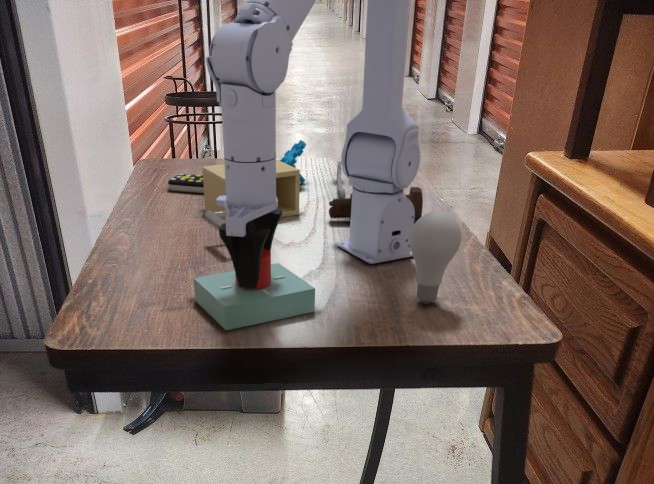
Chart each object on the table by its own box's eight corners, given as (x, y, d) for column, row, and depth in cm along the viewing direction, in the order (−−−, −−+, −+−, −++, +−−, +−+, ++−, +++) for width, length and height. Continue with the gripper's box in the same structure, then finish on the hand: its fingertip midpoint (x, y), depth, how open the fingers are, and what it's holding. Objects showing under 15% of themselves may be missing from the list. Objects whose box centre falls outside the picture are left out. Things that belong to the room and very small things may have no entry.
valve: (275, 277, 83) (274, 246, 80) (265, 290, 79) (265, 258, 77) (241, 274, 84) (240, 243, 81) (231, 287, 80) (229, 255, 78)
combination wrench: (346, 188, 115) (343, 159, 130) (338, 188, 115) (337, 159, 130) (344, 211, 117) (342, 179, 133) (337, 211, 117) (336, 179, 133)
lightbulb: (444, 293, 87) (458, 204, 80) (455, 312, 82) (471, 219, 75) (397, 293, 86) (408, 205, 80) (406, 312, 82) (418, 220, 75)
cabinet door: (223, 255, 97) (220, 207, 93) (194, 230, 107) (190, 185, 102) (262, 249, 99) (261, 201, 95) (230, 225, 109) (228, 181, 104)
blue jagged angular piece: (267, 167, 133) (302, 129, 128) (287, 189, 136) (323, 153, 131) (261, 189, 126) (298, 151, 120) (283, 212, 129) (320, 175, 123)
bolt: (328, 230, 113) (417, 227, 112) (330, 223, 108) (422, 220, 107) (328, 194, 112) (417, 191, 111) (329, 185, 107) (423, 181, 106)
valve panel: (314, 311, 82) (315, 287, 80) (226, 330, 78) (224, 305, 76) (278, 284, 89) (278, 261, 87) (195, 301, 85) (193, 276, 83)
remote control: (228, 196, 123) (228, 184, 122) (166, 191, 126) (164, 179, 125) (239, 188, 128) (239, 176, 127) (179, 183, 131) (178, 172, 129)
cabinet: (299, 214, 114) (299, 169, 110) (226, 225, 109) (224, 179, 105) (274, 200, 121) (274, 158, 116) (205, 210, 116) (202, 166, 112)
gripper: (232, 141, 79) (237, 256, 87) (194, 170, 68) (204, 298, 76) (290, 144, 78) (289, 260, 86) (261, 174, 67) (263, 303, 75)
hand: (253, 278), depth 81 cm, fingers closed on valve, 4 cm apart
